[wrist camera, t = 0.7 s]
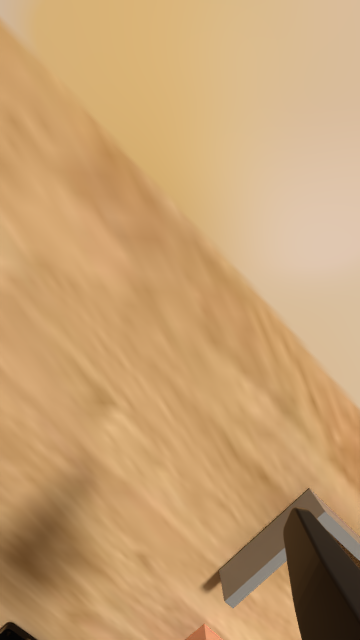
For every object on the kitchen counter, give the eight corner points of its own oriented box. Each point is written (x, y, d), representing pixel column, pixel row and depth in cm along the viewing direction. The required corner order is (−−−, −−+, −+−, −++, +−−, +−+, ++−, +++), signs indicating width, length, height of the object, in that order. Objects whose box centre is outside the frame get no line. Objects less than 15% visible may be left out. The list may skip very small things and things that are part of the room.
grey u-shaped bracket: (332, 666, 28) (349, 704, 25) (218, 570, 26) (224, 601, 23) (418, 593, 27) (444, 625, 24) (309, 488, 25) (325, 511, 22)
